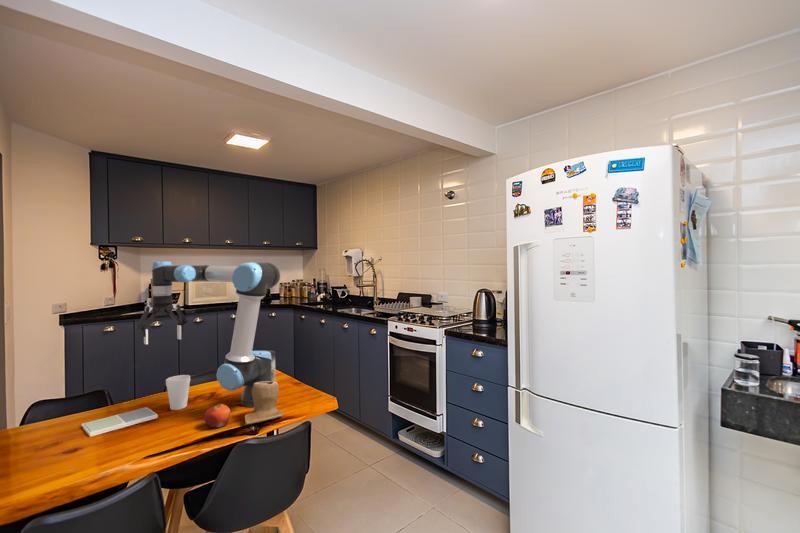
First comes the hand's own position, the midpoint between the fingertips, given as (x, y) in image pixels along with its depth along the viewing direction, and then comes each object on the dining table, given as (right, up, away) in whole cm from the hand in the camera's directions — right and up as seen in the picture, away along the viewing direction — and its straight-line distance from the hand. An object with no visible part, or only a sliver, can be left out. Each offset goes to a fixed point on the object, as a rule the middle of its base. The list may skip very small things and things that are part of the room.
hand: (163, 341), depth 170 cm
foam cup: (+9, -29, -4) cm, 30 cm away
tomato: (+37, -28, -24) cm, 52 cm away
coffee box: (+35, -28, +32) cm, 55 cm away
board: (-5, -29, -19) cm, 35 cm away
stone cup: (+52, -28, -19) cm, 62 cm away
